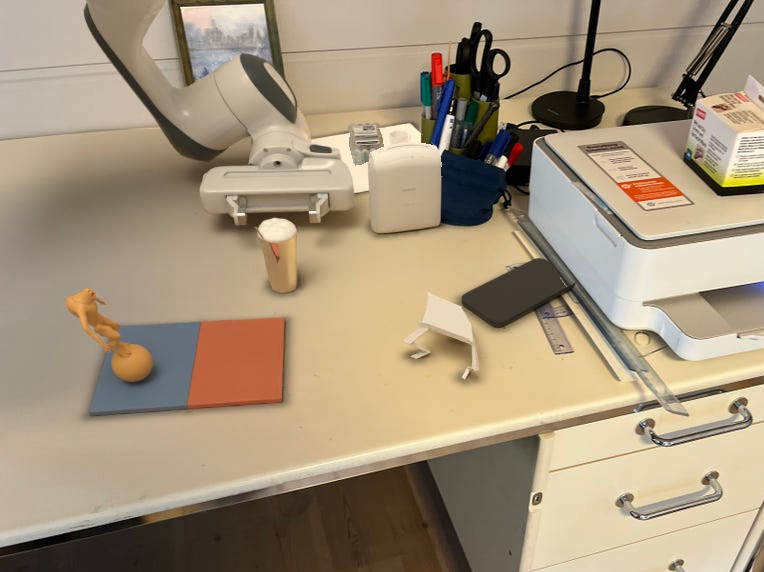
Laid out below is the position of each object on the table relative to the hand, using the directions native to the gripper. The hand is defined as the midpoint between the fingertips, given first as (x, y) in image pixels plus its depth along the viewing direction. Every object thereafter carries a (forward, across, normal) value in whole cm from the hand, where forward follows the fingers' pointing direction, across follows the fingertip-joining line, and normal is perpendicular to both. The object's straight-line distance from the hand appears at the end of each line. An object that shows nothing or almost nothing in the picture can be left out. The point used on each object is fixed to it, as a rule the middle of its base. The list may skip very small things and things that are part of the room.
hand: (277, 219), depth 97 cm
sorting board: (+22, -9, +5) cm, 24 cm away
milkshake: (+8, 0, +6) cm, 9 cm away
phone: (+12, +30, +5) cm, 33 cm away
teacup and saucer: (-28, +15, +5) cm, 33 cm away
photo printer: (-6, +17, +5) cm, 19 cm away
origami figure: (+23, +19, +6) cm, 30 cm away
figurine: (+24, -16, +5) cm, 29 cm away
